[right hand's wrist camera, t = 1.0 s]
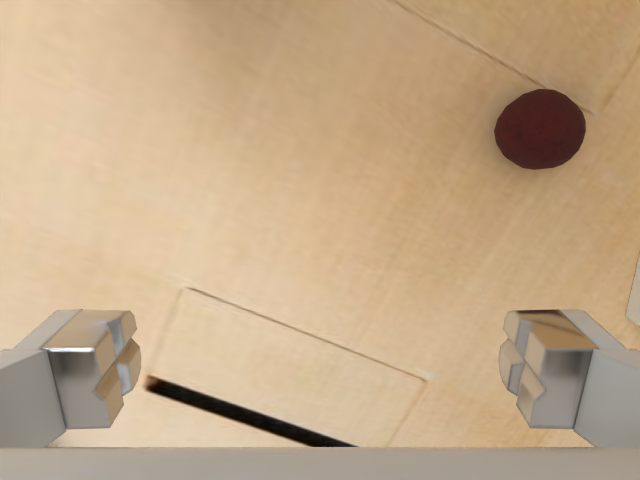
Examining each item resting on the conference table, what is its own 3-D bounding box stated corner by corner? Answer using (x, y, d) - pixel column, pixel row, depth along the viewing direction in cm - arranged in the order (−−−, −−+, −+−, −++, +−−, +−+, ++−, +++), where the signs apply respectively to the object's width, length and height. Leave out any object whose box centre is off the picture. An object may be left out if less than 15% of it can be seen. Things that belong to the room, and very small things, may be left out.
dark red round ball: (556, 161, 47) (595, 174, 41) (481, 164, 47) (508, 177, 41) (565, 86, 45) (608, 87, 38) (487, 90, 45) (516, 91, 38)
